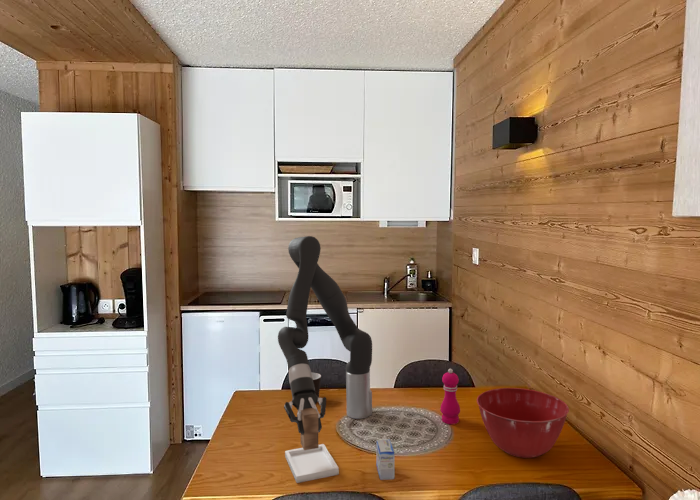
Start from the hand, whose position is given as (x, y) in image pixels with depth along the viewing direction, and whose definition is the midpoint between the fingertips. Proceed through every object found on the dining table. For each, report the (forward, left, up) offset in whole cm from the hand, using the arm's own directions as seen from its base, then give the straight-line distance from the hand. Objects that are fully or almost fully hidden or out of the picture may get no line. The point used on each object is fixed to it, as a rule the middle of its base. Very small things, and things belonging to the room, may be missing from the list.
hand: (310, 432), depth 147 cm
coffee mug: (-14, -54, -12) cm, 57 cm away
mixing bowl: (-68, +12, -12) cm, 70 cm away
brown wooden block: (0, -2, -5) cm, 5 cm away
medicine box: (-20, +10, -12) cm, 26 cm away
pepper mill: (-57, -14, -12) cm, 60 cm away
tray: (0, -2, -11) cm, 12 cm away
